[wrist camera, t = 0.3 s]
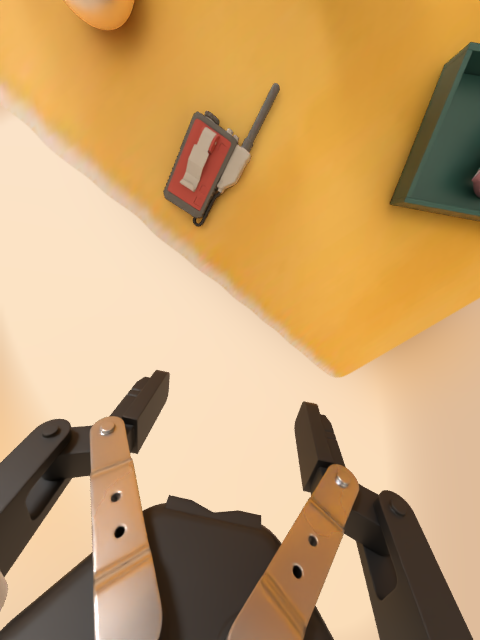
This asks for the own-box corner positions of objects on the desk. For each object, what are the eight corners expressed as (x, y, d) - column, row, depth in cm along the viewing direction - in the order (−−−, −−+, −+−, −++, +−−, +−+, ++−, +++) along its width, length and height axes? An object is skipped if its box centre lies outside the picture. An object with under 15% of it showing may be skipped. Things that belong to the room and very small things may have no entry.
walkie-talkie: (212, 234, 38) (284, 95, 30) (206, 235, 33) (287, 75, 26) (164, 203, 36) (226, 51, 29) (152, 201, 32) (220, 23, 25)
